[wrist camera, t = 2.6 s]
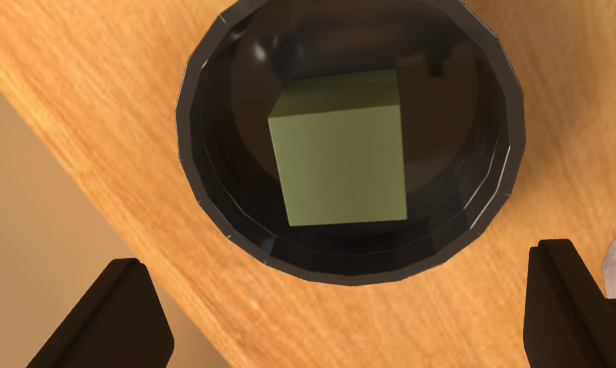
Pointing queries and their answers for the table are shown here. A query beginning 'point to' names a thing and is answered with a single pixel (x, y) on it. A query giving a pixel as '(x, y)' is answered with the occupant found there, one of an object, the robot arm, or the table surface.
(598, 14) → the table surface
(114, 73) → the table surface
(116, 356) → the robot arm
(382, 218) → the block
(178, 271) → the table surface
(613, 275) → the stone block
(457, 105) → the pan
